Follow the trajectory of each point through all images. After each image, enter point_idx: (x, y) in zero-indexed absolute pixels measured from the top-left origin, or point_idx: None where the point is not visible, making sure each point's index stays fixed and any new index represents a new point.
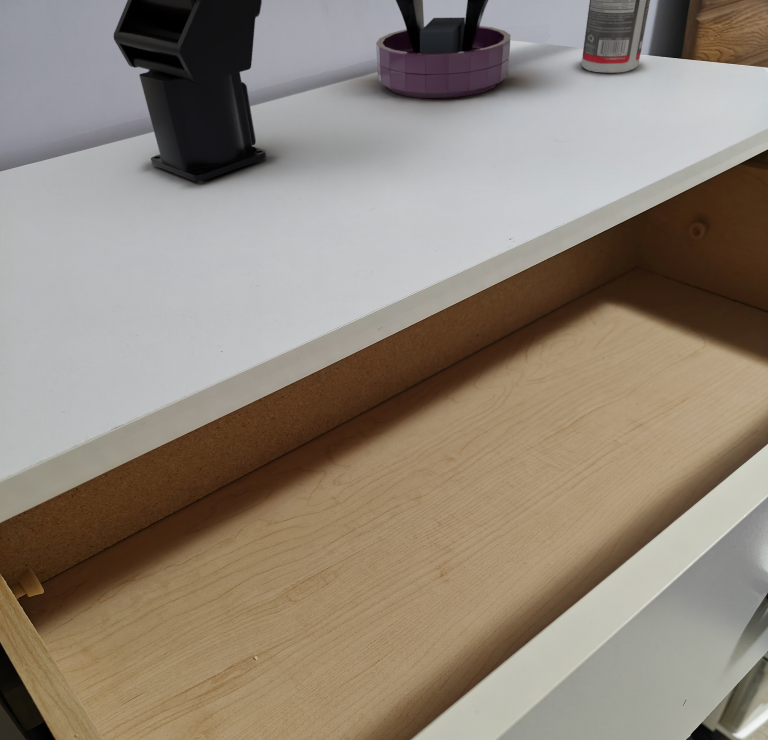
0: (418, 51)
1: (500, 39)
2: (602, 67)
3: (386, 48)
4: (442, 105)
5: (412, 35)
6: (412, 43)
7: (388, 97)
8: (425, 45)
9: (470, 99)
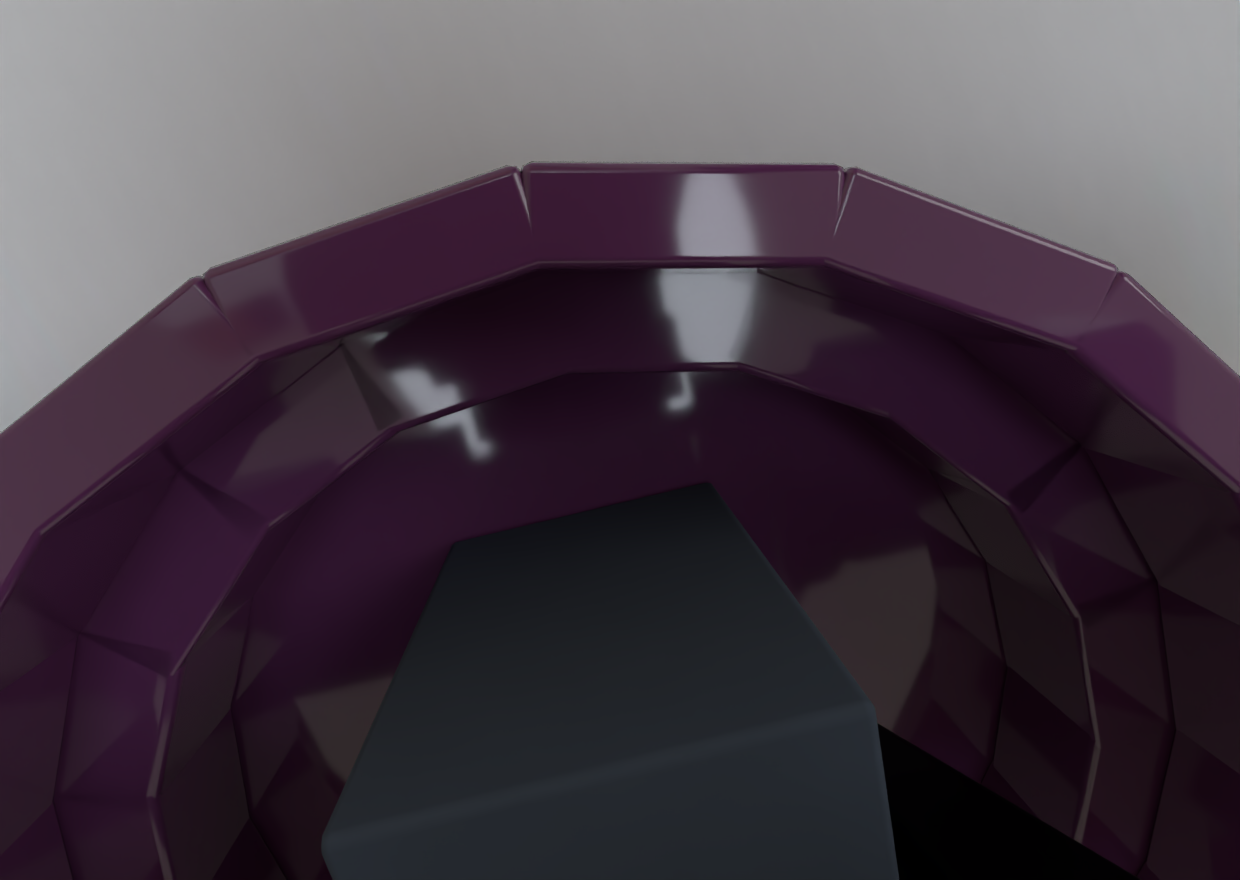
0: None
1: None
2: None
3: (1203, 393)
4: (361, 160)
5: (1023, 846)
6: (975, 794)
7: None
8: (735, 626)
9: None
